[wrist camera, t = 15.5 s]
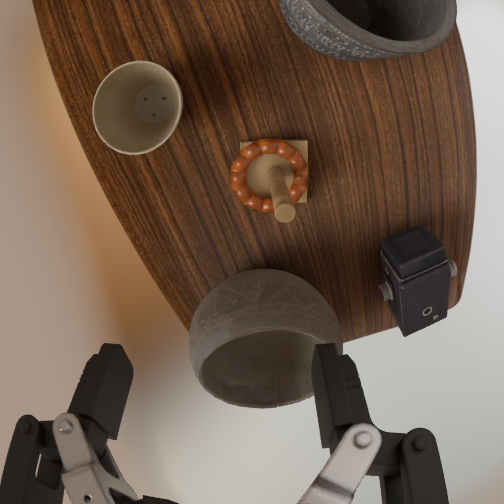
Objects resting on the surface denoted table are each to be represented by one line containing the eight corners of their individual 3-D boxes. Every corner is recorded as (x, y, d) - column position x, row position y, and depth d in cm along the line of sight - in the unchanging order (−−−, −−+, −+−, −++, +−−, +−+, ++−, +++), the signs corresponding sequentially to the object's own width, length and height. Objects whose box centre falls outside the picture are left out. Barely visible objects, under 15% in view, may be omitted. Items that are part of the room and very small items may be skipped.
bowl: (352, 281, 44) (382, 354, 32) (280, 355, 54) (286, 423, 41) (236, 220, 39) (229, 292, 26) (179, 316, 48) (161, 389, 36)
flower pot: (212, 107, 31) (202, 111, 25) (151, 157, 34) (130, 173, 28) (162, 49, 27) (142, 41, 21) (105, 103, 30) (76, 109, 24)
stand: (244, 201, 38) (240, 255, 27) (240, 141, 33) (234, 169, 22) (305, 199, 37) (327, 252, 26) (306, 139, 33) (334, 167, 22)
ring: (233, 209, 37) (232, 215, 36) (229, 138, 32) (228, 141, 31) (305, 208, 37) (307, 213, 35) (307, 137, 32) (310, 140, 31)
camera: (425, 273, 45) (422, 204, 37) (454, 320, 36) (464, 250, 28) (374, 295, 48) (359, 229, 39) (397, 347, 38) (391, 284, 30)
